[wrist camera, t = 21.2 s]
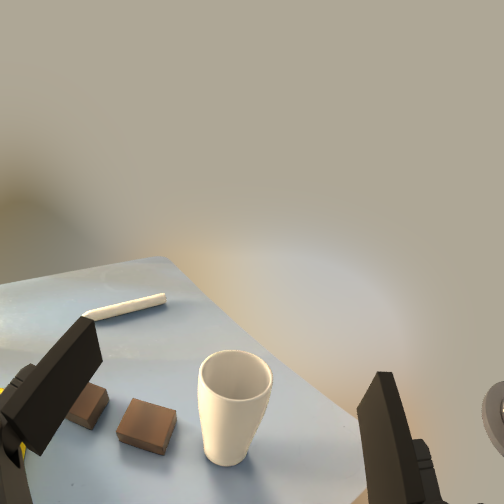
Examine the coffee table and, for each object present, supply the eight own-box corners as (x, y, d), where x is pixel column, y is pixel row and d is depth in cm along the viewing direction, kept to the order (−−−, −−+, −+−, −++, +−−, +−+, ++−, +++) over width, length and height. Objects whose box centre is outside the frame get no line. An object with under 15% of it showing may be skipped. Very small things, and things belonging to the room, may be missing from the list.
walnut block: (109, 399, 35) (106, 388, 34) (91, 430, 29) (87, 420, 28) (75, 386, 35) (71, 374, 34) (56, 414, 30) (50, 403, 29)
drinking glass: (218, 421, 35) (226, 339, 30) (262, 445, 33) (287, 368, 27) (186, 453, 30) (182, 376, 24) (233, 482, 27) (249, 415, 21)
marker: (81, 326, 47) (79, 316, 46) (79, 320, 49) (77, 310, 48) (166, 304, 59) (166, 295, 58) (162, 299, 60) (162, 289, 59)
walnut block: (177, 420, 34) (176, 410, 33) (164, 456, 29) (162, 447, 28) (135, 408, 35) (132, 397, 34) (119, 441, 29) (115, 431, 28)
